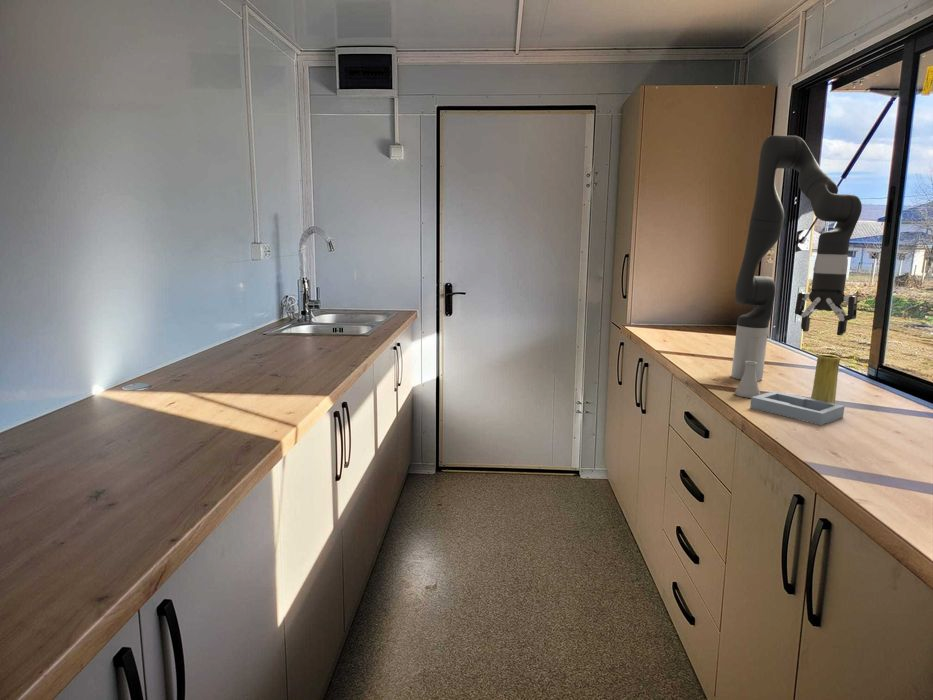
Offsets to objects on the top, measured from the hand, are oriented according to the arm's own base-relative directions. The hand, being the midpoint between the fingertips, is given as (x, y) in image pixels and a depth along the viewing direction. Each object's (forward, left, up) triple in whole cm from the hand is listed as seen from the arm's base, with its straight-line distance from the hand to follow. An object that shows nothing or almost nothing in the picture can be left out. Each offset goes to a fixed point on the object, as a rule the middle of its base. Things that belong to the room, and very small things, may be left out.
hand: (822, 333), depth 165 cm
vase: (-3, +1, -21) cm, 21 cm away
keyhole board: (+9, 0, -21) cm, 22 cm away
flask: (+3, -17, -21) cm, 27 cm away
